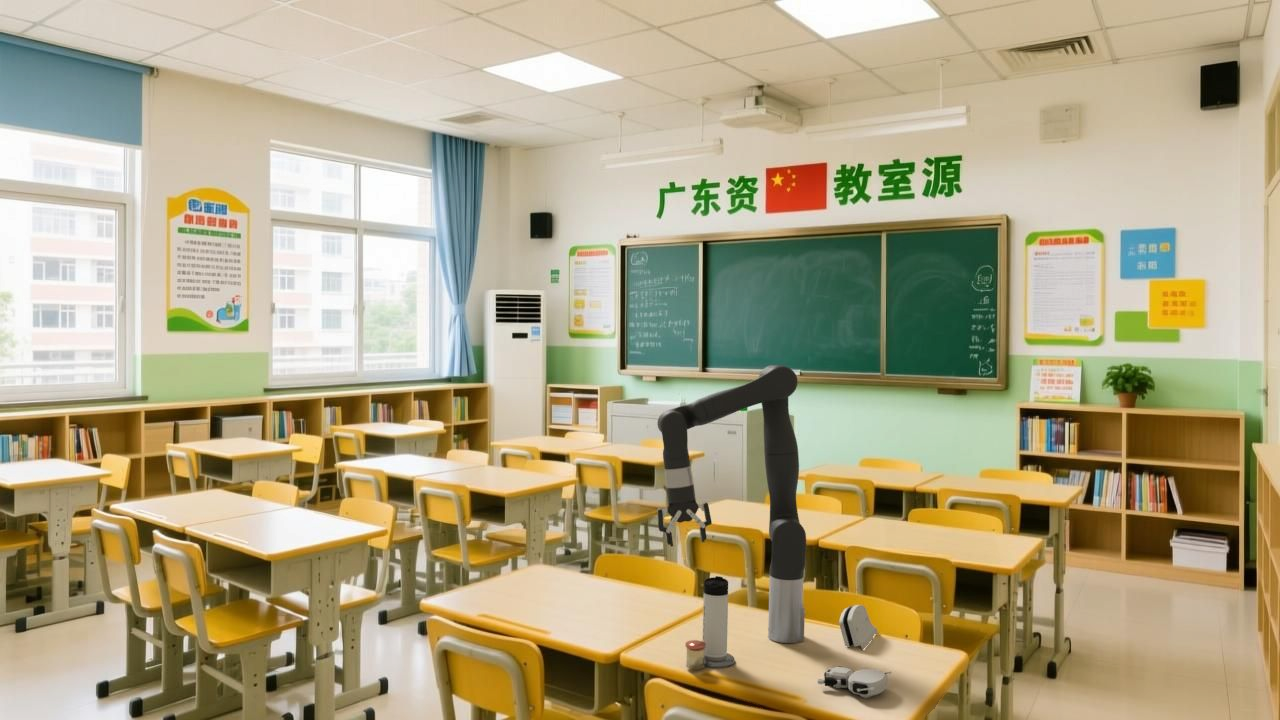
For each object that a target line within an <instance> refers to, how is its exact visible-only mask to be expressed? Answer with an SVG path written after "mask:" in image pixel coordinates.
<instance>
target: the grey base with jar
mask: <svg viewBox="0 0 1280 720" xmlns="http://www.w3.org/2000/svg"><path fill="white" fill-rule="evenodd" d="M685 647H686V662H685V663H686V668H687V669H690V670H696V671H698V670H702V669H704V668H709V669H725V668H729V667H732V666H734V664H735V657H734V655H732V654H731V653H727V658H726V659H725V660H724V661H720V662H712V661H708V658H707V656H706V655H704V652H705V647H706V643H705V642H703V641H702V640H698V639H695V640H693V639H691V640H687V641H686V642H685Z"/></svg>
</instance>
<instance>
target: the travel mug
mask: <svg viewBox="0 0 1280 720" xmlns="http://www.w3.org/2000/svg"><path fill="white" fill-rule="evenodd" d="M702 604H703V605H702V609H703V610H702V640H701V641H703V642H705V643H706V647H705V652H704V655H706V656H707V658H708V661H712V662H720V661H724V660H725V659H726V658H727V652H728V619H729V617H728V615H729V580H728V579H726V578H724V577H723V576H719V575H718V576H717V575H716V576H715V577H709V578H706V579H705V580H704V582H703V603H702Z"/></svg>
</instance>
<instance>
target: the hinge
mask: <svg viewBox="0 0 1280 720" xmlns="http://www.w3.org/2000/svg"><path fill="white" fill-rule="evenodd" d="M838 624H839V627H840V632H841V635H842V640H843V642H844V646H847V647H850V646H851V647H852V646H853V647H859V646H860V647H861V650H862V649H864V648H865V647H866V646H867V645H868V644H869V642H870V641H871V640H872V639H873V636H874V634H877V635H879V631H878V628H877V626H875V625H874V624H872V622H871V619H870V616H869V614H868V611H867V609H866V606H865V605H863V604H855V605H851V606H848V607H846V608H844V610H843V611H842V612H841V614H840V617H839V621H838ZM873 640H874V639H873ZM869 645H870V644H869ZM851 647H850V648H851Z"/></svg>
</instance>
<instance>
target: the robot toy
mask: <svg viewBox="0 0 1280 720" xmlns="http://www.w3.org/2000/svg"><path fill="white" fill-rule="evenodd" d="M892 673H893V672H892V671H888V672H887V671H886V672H885V671H882V670H878V669H872V668H862V669H859V670H856V671H854V672H853V671H852V669H850V668H847V667H843V666H840V665H839V666H835V667H833V668H828V669H827V670H826V671H824V674H823V676H824V678H823V679H822V678H818V679H817V684H818V685H823V684H824V686H825V687H833V688H834V687H836V688H835V689H840V688H842V689H848V690H849V691H850V692H851V693H853V694H855V695H859V696H860V697H861V698H864V699H868V698H871V697H872V696H877V695H879V694H881V693H883V692H884V691H886V689H887V687H888V684H889V682H888V680H889V679H888V674H889V675H890V674H892Z"/></svg>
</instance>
